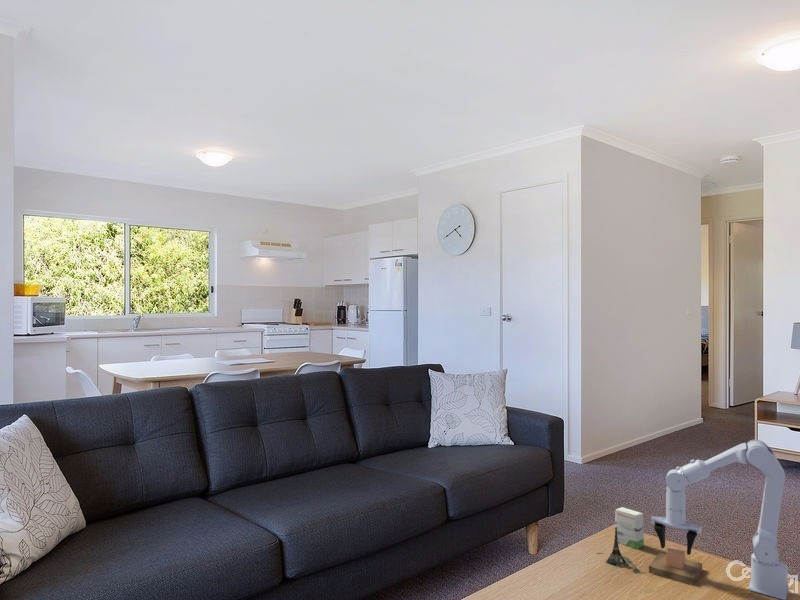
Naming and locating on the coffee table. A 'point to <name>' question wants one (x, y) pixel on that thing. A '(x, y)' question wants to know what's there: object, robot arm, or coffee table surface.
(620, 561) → the eiffel tower figurine
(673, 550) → the terracotta block
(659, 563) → the walnut base
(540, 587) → the coffee table surface
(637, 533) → the ink box
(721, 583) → the coffee table surface
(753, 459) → the robot arm
